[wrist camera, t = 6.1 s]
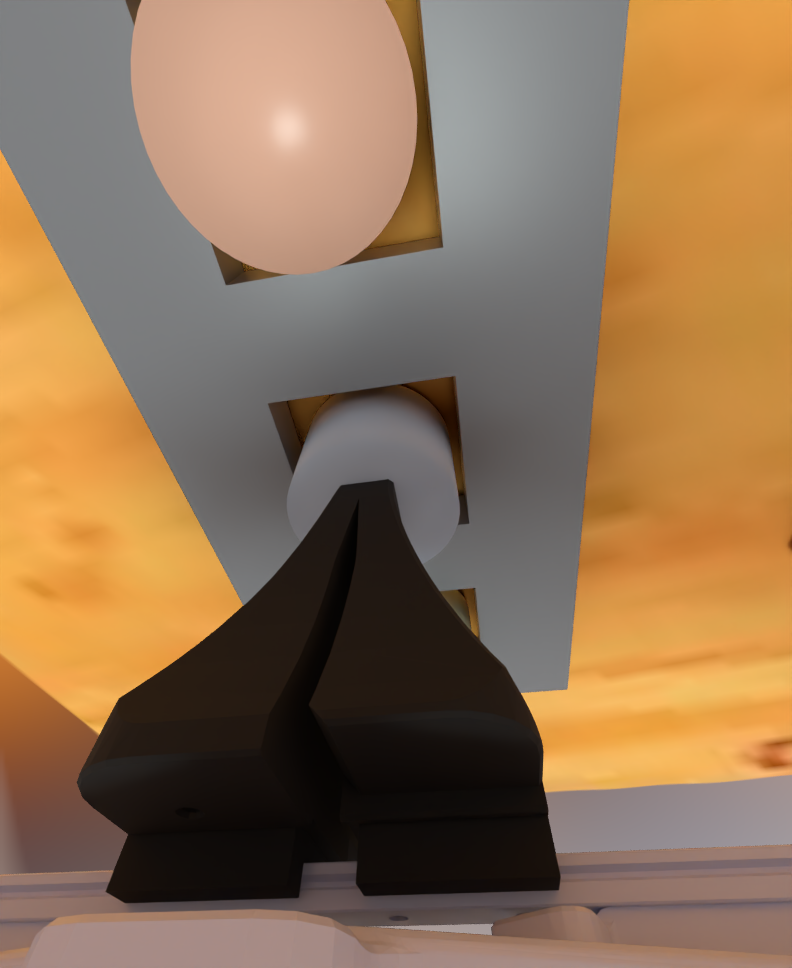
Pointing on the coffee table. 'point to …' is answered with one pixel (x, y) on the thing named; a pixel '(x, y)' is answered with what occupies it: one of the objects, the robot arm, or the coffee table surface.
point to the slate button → (380, 462)
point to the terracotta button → (277, 123)
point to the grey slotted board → (359, 292)
